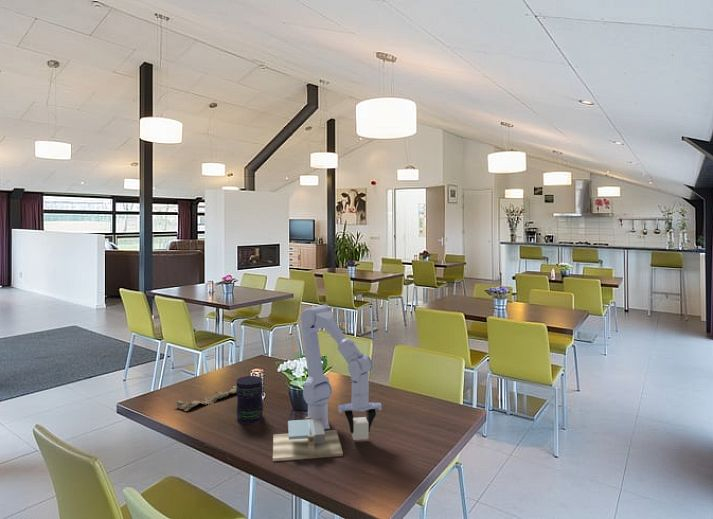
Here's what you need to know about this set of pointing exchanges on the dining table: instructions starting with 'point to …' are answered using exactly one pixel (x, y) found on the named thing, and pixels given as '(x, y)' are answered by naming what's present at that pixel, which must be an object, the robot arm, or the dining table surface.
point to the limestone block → (360, 428)
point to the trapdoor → (306, 429)
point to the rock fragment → (188, 405)
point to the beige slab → (305, 447)
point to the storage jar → (249, 399)
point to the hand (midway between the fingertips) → (359, 431)
